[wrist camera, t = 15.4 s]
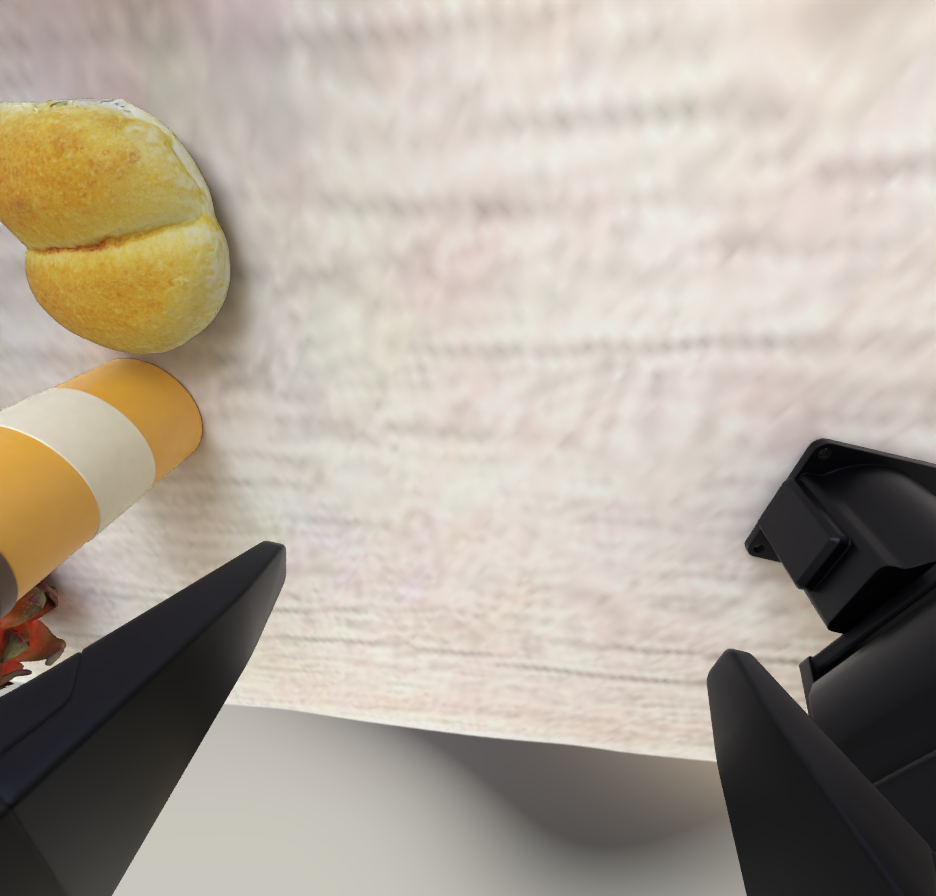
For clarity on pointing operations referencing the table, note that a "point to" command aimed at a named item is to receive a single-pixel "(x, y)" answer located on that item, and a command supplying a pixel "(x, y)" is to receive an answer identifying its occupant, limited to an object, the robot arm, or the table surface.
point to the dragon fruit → (28, 634)
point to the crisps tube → (84, 462)
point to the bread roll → (112, 222)
